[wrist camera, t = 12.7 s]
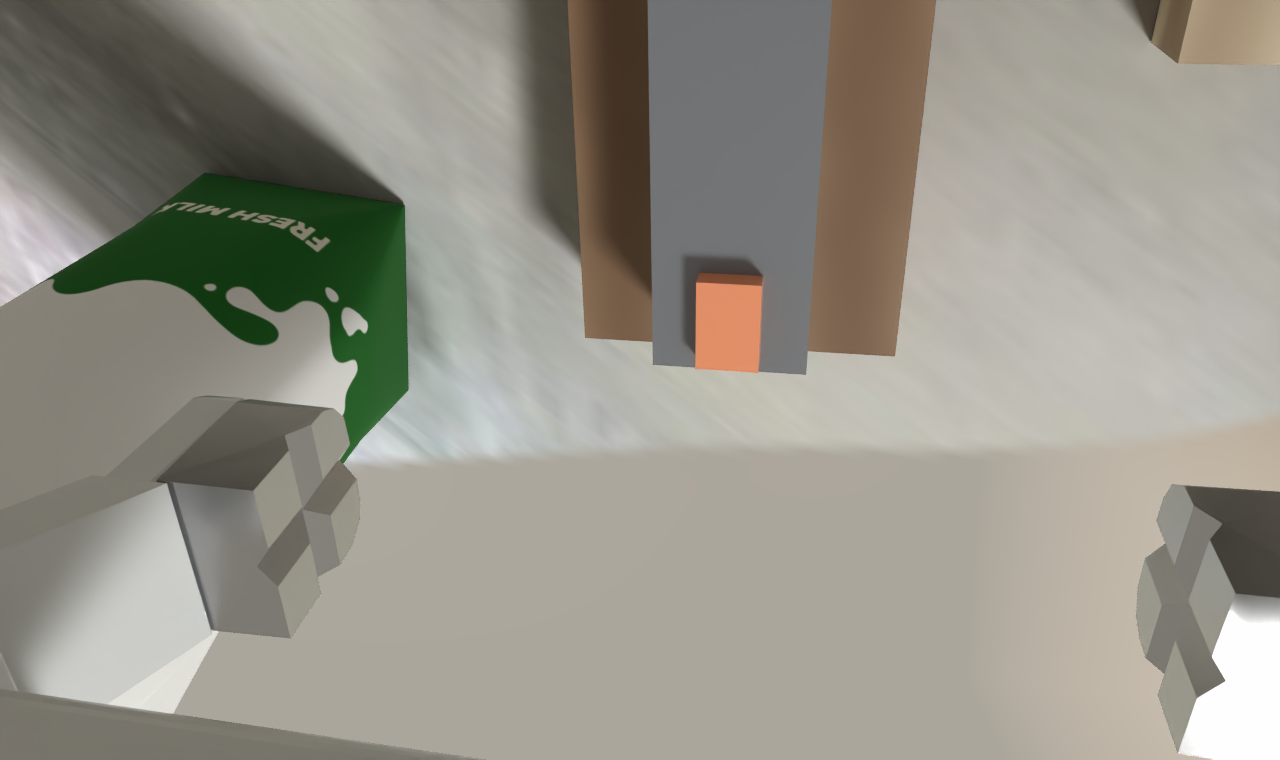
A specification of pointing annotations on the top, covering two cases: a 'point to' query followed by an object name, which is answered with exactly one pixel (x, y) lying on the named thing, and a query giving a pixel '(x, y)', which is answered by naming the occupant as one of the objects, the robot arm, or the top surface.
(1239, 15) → the block
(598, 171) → the keyhole board
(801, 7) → the grey bar
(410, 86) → the top surface
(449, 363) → the top surface
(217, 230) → the milk carton
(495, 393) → the top surface
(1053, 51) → the top surface
